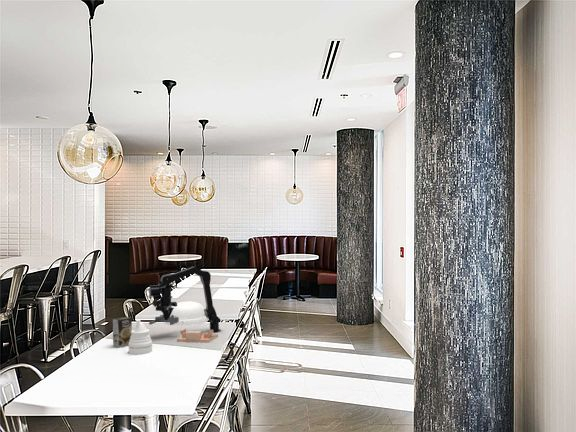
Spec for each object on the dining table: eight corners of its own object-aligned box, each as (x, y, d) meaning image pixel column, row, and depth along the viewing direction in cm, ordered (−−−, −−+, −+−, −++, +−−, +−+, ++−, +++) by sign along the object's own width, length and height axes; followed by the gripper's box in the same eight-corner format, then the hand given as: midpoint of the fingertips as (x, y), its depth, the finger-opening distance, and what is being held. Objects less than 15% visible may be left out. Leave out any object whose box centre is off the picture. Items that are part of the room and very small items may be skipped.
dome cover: (204, 325, 383) (203, 305, 383) (160, 326, 383) (160, 306, 383) (211, 317, 415) (210, 298, 415) (170, 318, 415) (170, 299, 415)
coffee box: (119, 347, 323) (118, 320, 323) (112, 346, 327) (112, 319, 327) (132, 344, 330) (131, 317, 330) (125, 343, 334) (125, 316, 334)
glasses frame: (157, 321, 353) (156, 314, 353) (179, 321, 350) (178, 315, 350) (149, 324, 343) (149, 317, 343) (171, 325, 339) (171, 318, 339)
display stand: (187, 335, 351) (187, 327, 351) (217, 336, 346) (217, 327, 346) (177, 341, 335) (176, 332, 335) (208, 342, 331) (207, 333, 331)
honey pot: (146, 354, 305) (145, 321, 305) (124, 354, 307) (123, 321, 307) (156, 349, 317) (155, 317, 317) (135, 348, 320) (134, 317, 320)
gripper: (161, 292, 361) (161, 317, 361) (147, 297, 343) (148, 322, 343) (177, 293, 358) (177, 317, 358) (164, 297, 340) (164, 322, 340)
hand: (166, 319), depth 350 cm, fingers closed on glasses frame, 2 cm apart
